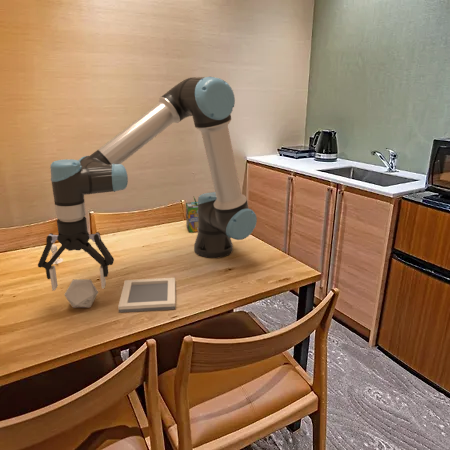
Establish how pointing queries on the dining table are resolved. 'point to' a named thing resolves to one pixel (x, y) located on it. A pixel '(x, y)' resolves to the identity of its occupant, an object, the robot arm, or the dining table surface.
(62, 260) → the toy figurine
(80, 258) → the dining table surface
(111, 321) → the dining table surface
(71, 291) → the die
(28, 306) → the dining table surface
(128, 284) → the pocket plate
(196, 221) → the chalk box
